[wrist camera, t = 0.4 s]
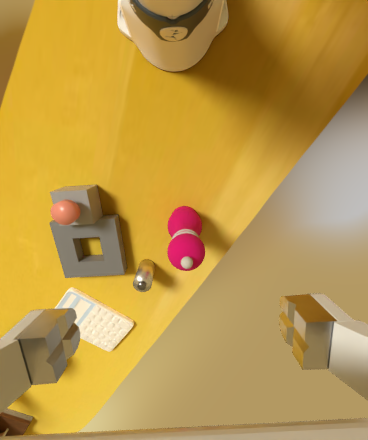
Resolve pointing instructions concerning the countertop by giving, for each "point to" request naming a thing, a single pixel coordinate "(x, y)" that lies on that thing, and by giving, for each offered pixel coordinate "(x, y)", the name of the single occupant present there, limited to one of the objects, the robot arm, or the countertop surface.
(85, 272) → the grey stepped block frame
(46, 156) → the countertop surface
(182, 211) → the pepper mill
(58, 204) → the plunger
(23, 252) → the countertop surface
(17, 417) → the beige stacked box tower
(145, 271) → the cell
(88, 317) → the calculator
